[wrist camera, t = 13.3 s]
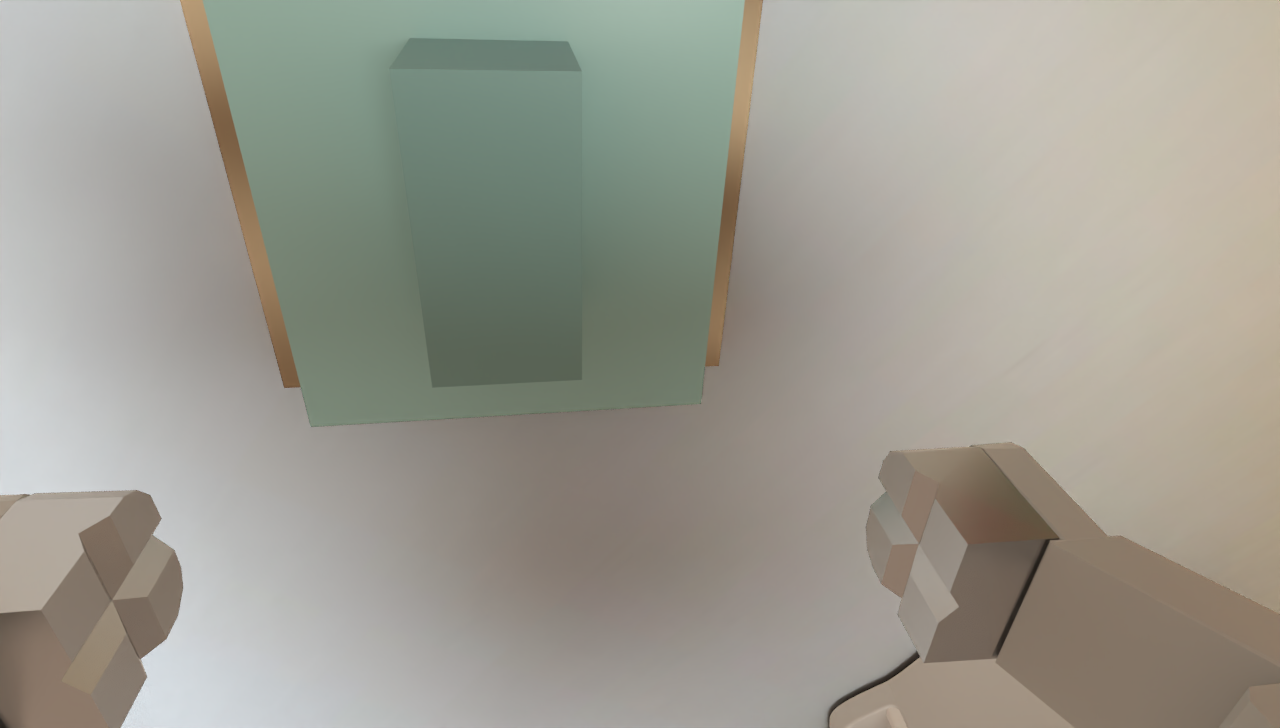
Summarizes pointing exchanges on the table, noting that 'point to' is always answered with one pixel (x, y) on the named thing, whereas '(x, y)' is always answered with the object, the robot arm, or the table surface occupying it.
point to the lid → (486, 196)
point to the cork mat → (252, 231)
